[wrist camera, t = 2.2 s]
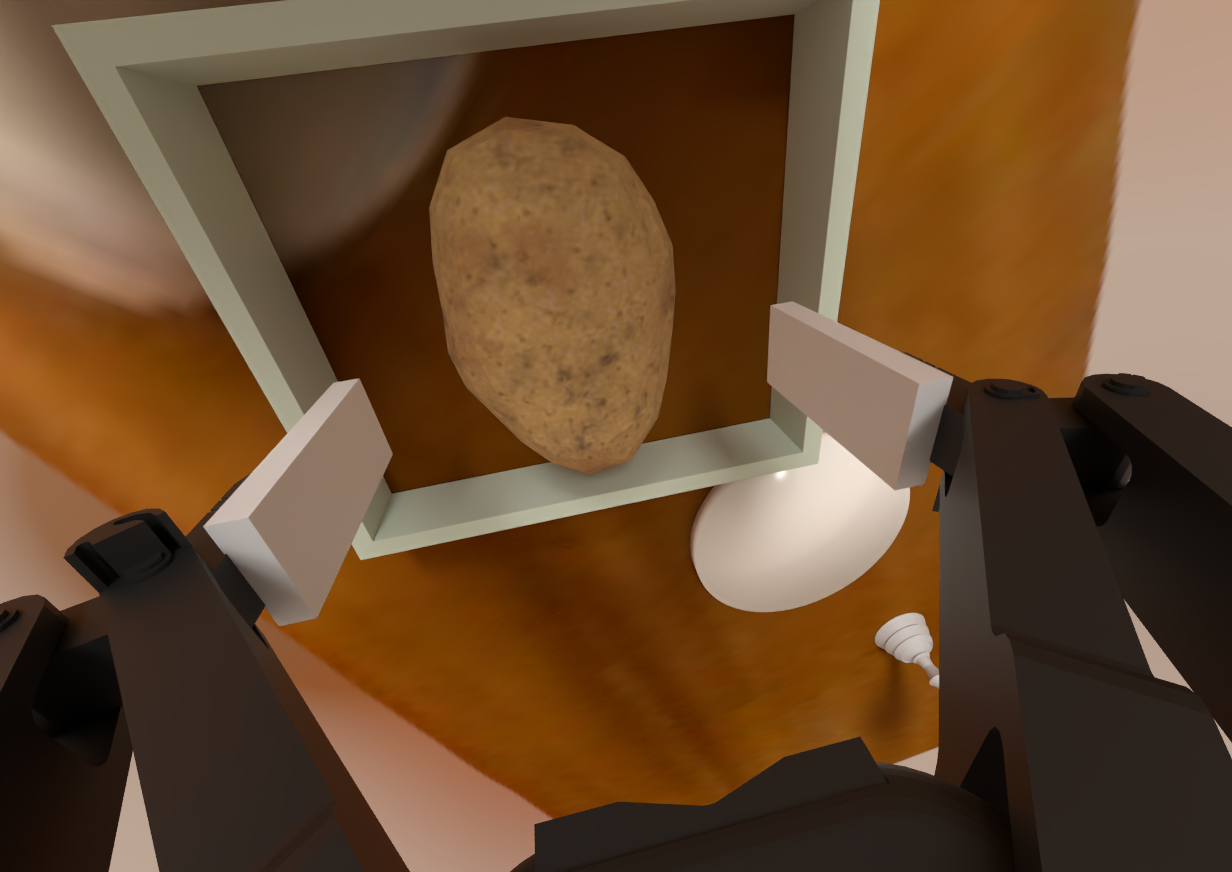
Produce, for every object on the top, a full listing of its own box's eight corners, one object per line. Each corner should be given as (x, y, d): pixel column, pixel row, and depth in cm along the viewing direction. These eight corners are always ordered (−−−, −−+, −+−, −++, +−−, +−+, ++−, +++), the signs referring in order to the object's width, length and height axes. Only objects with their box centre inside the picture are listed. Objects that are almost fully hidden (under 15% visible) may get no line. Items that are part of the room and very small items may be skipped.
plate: (685, 455, 29) (691, 466, 28) (919, 407, 30) (933, 416, 29) (693, 618, 37) (698, 631, 36) (877, 575, 39) (886, 586, 38)
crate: (149, 54, 16) (50, 25, 13) (820, -22, 18) (888, -64, 15) (380, 510, 27) (360, 560, 24) (783, 429, 29) (818, 463, 26)
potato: (507, 438, 26) (502, 534, 20) (396, 154, 19) (327, 150, 12) (672, 394, 27) (723, 473, 20) (626, 100, 19) (683, 66, 13)
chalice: (944, 625, 45) (1163, 865, 30) (883, 663, 46) (1062, 908, 31) (917, 594, 41) (1150, 847, 26) (853, 636, 43) (1036, 897, 28)
